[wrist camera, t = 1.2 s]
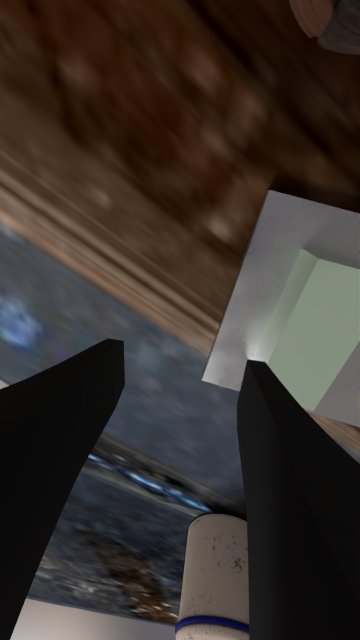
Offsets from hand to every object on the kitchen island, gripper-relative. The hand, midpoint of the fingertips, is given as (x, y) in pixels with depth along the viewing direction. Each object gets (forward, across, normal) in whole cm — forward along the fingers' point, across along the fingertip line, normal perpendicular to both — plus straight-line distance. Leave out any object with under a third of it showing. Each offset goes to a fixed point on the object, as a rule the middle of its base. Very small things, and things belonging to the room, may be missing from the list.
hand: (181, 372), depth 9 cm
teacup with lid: (+10, -7, +30) cm, 32 cm away
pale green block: (+9, -7, +1) cm, 11 cm away
